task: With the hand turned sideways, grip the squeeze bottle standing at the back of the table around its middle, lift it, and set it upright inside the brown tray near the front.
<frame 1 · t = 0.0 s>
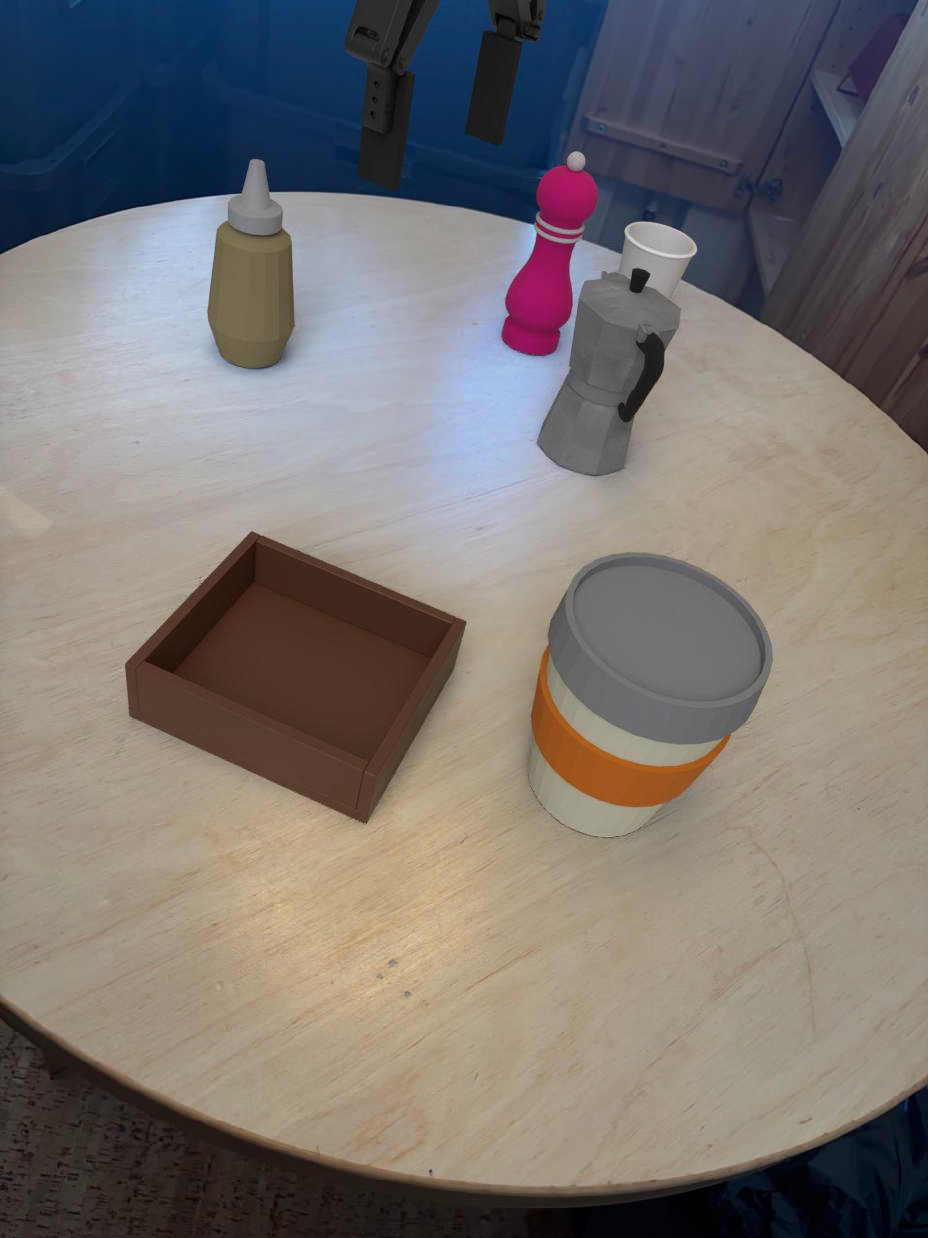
hand: (434, 159, 63), 27 cm above the table, tool pointing down, fingers open, 13 cm apart
brown tray: (301, 691, 64), on the table
dixie cup: (633, 321, 113), on the table
squeeze bottle: (249, 355, 92), on the table
reusable coffee cup: (592, 781, 63), on the table
pepper mill: (528, 342, 104), on the table
coffeepot: (584, 456, 91), on the table
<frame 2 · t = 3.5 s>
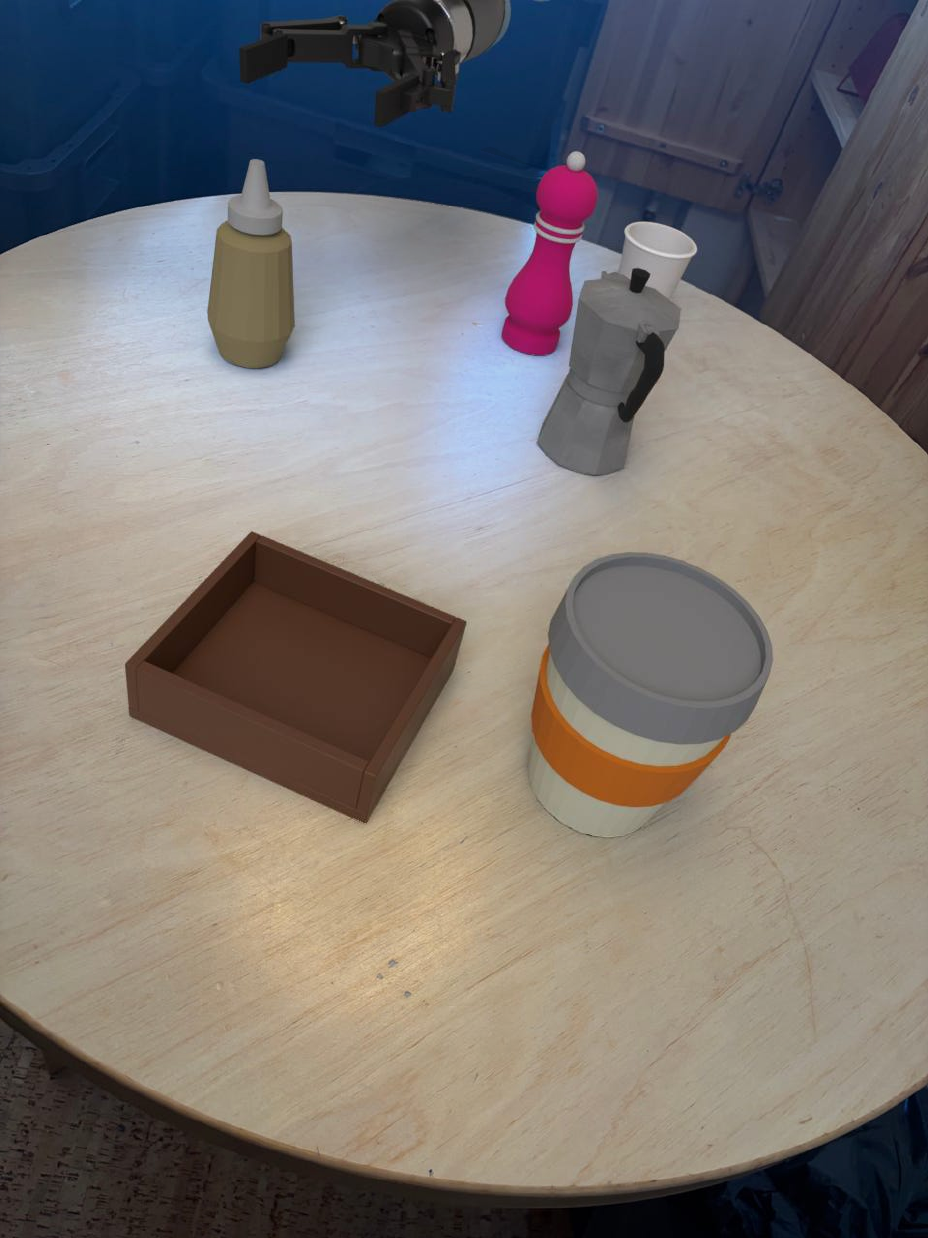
hand: (309, 87, 82), 22 cm above the table, tool horizontal, fingers open, 13 cm apart
nothing on the table moved.
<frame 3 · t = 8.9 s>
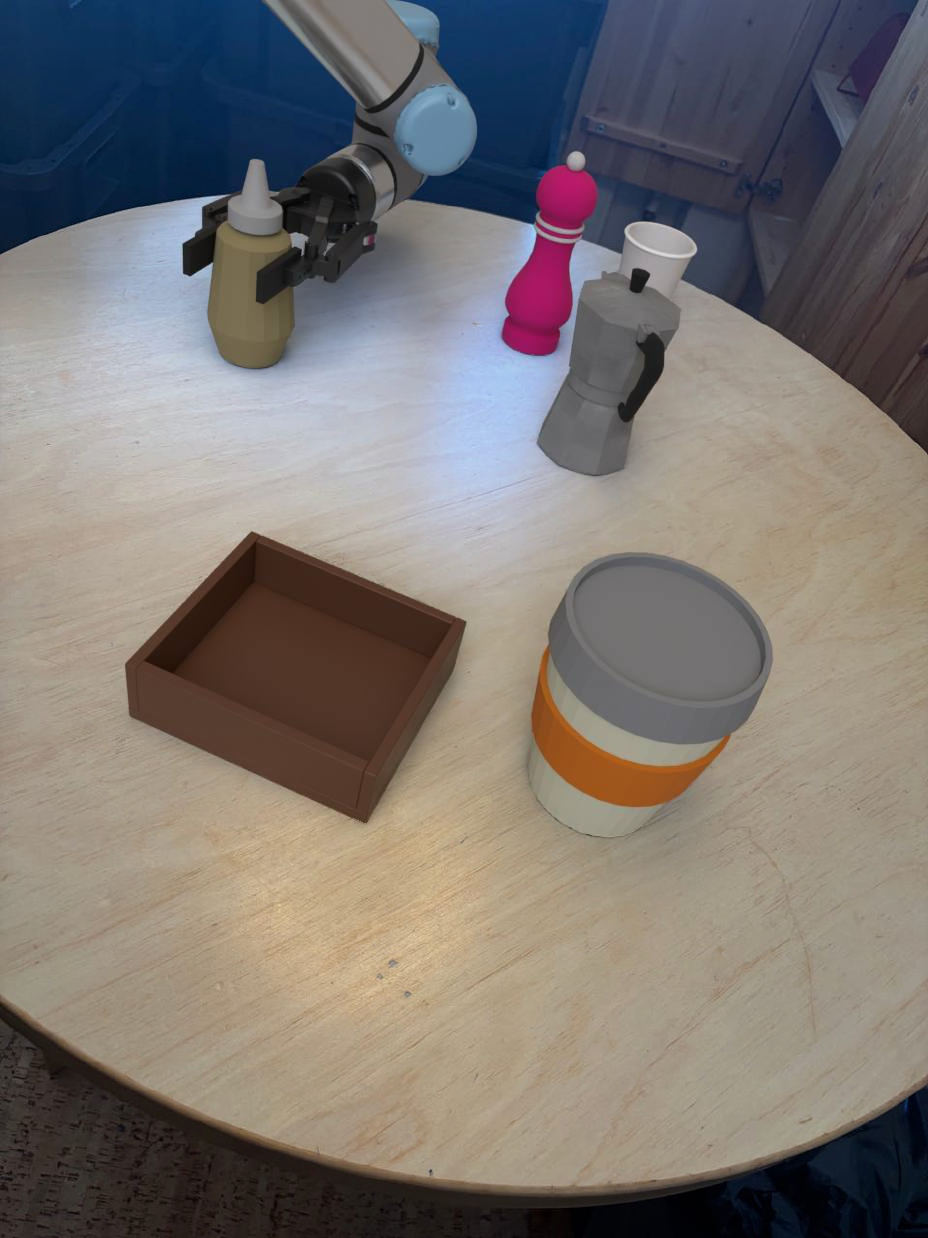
hand: (223, 273, 81), 10 cm above the table, tool horizontal, fingers closed on squeeze bottle, 6 cm apart
squeeze bottle: (249, 355, 92), on the table, touching gripper
everything else where it was.
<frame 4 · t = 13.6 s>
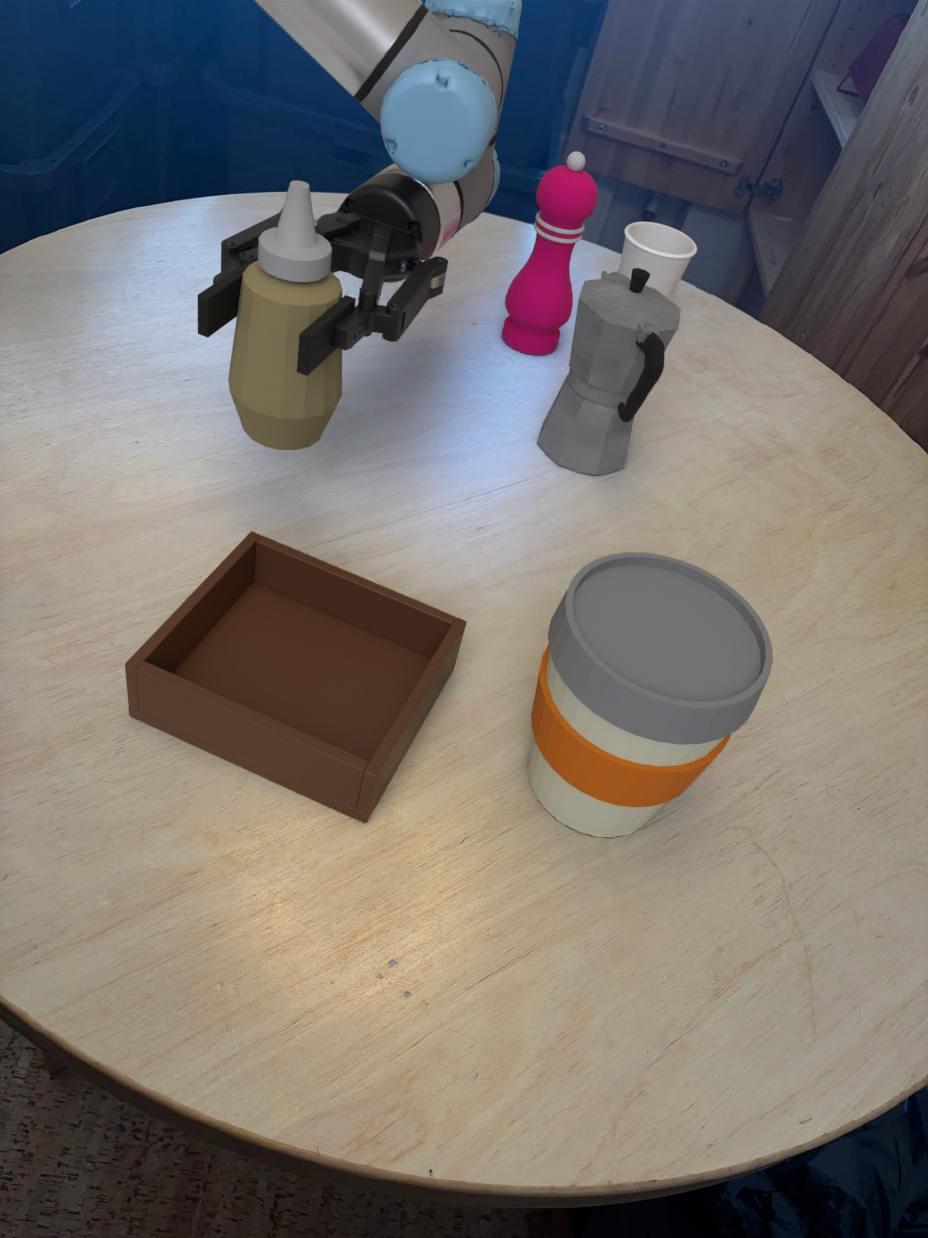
hand: (253, 335, 60), 18 cm above the table, tool horizontal, fingers closed on squeeze bottle, 6 cm apart
squeeze bottle: (282, 431, 71), point 8 cm above the table, touching gripper
everything else where it was.
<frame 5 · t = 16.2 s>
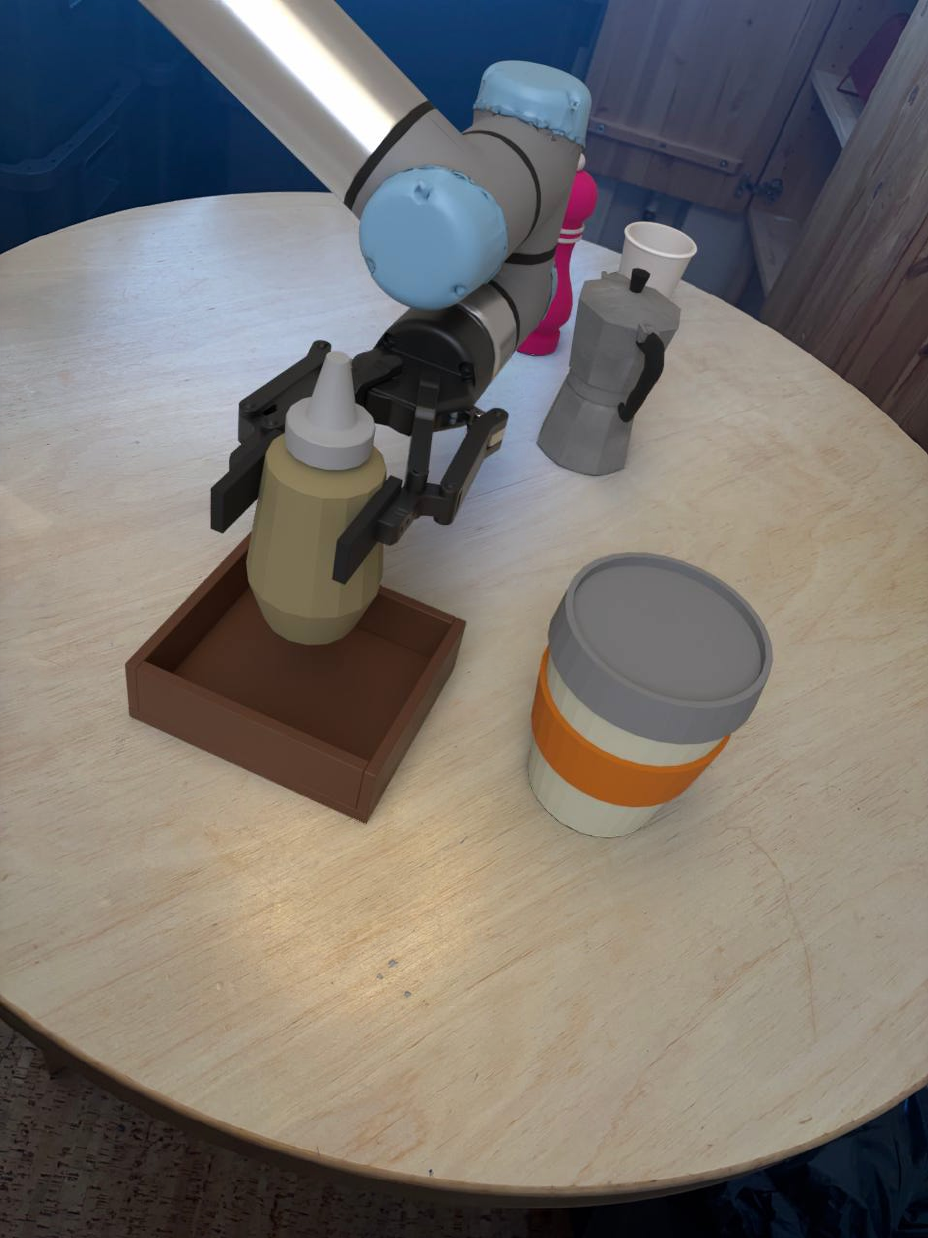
hand: (278, 536, 49), 17 cm above the table, tool horizontal, fingers closed on squeeze bottle, 6 cm apart
squeeze bottle: (310, 615, 59), point 7 cm above the table, touching gripper
everything else where it was.
when the fingers open (11 cm above the table, at t = 18.3 s): squeeze bottle stays where it is, resting on brown tray.
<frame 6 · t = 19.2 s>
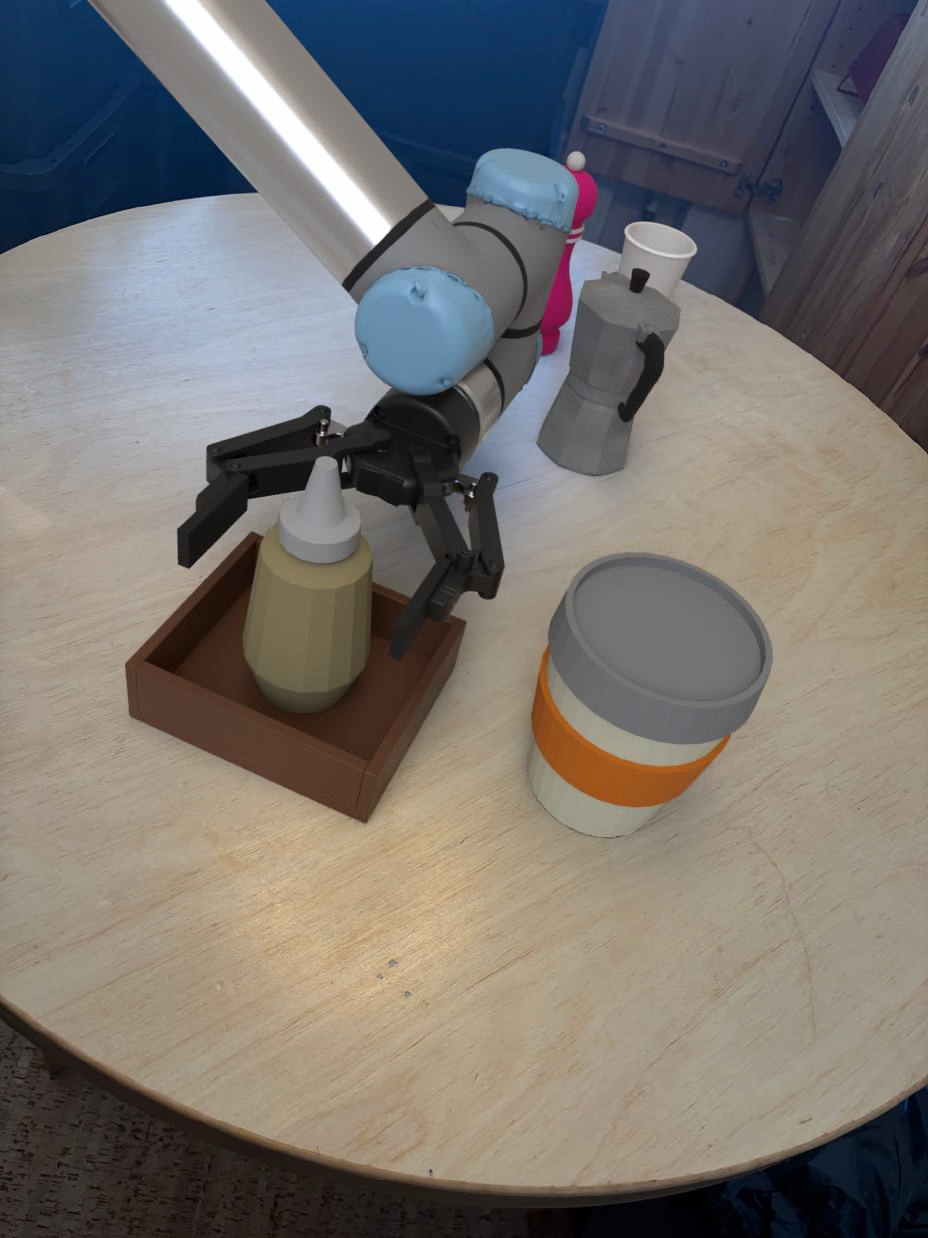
hand: (288, 595, 53), 12 cm above the table, tool horizontal, fingers open, 13 cm apart
squeeze bottle: (302, 683, 63), point 1 cm above the table, touching brown tray
everything else where it was.
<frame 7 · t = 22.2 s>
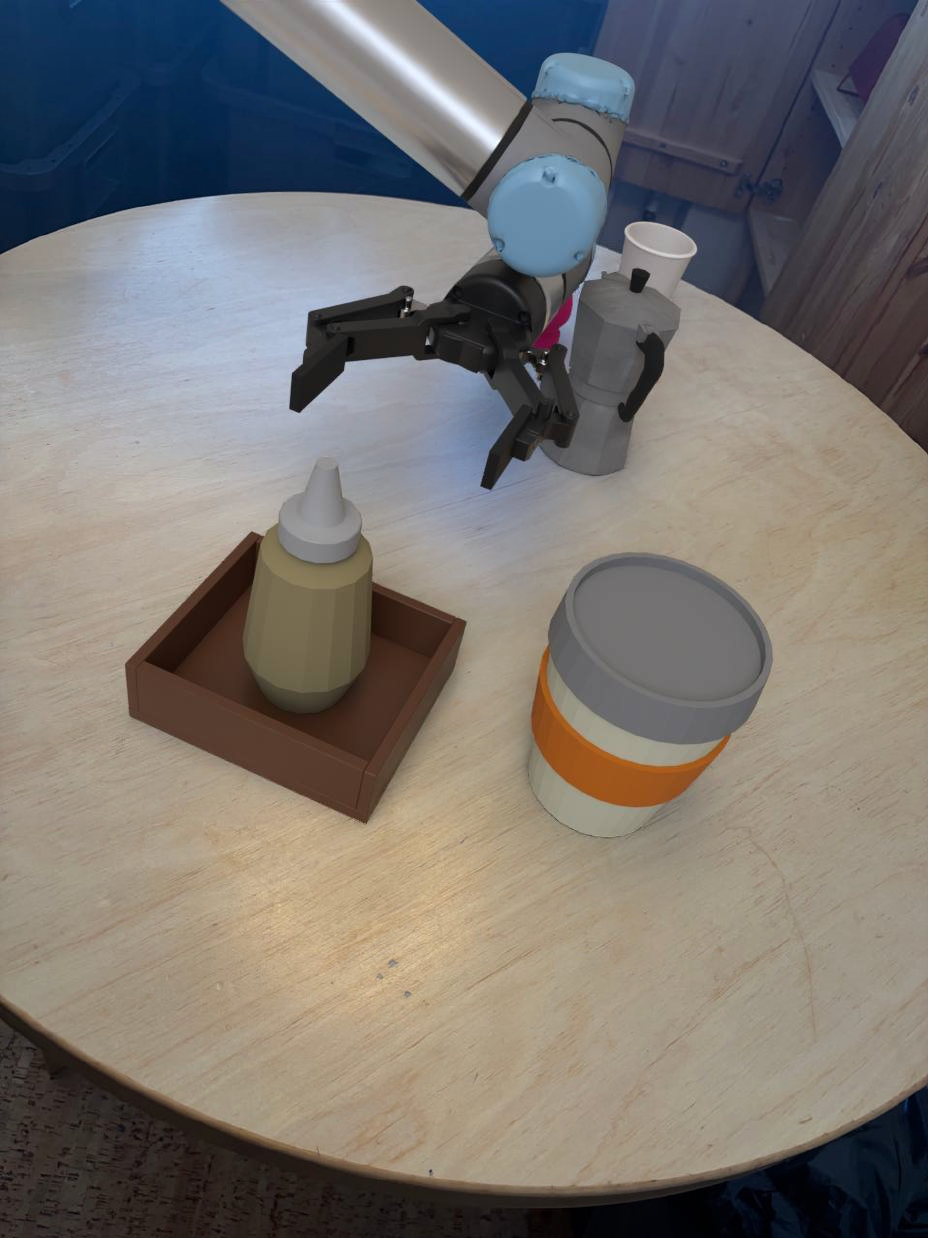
hand: (391, 432, 60), 16 cm above the table, tool horizontal, fingers open, 13 cm apart
nothing on the table moved.
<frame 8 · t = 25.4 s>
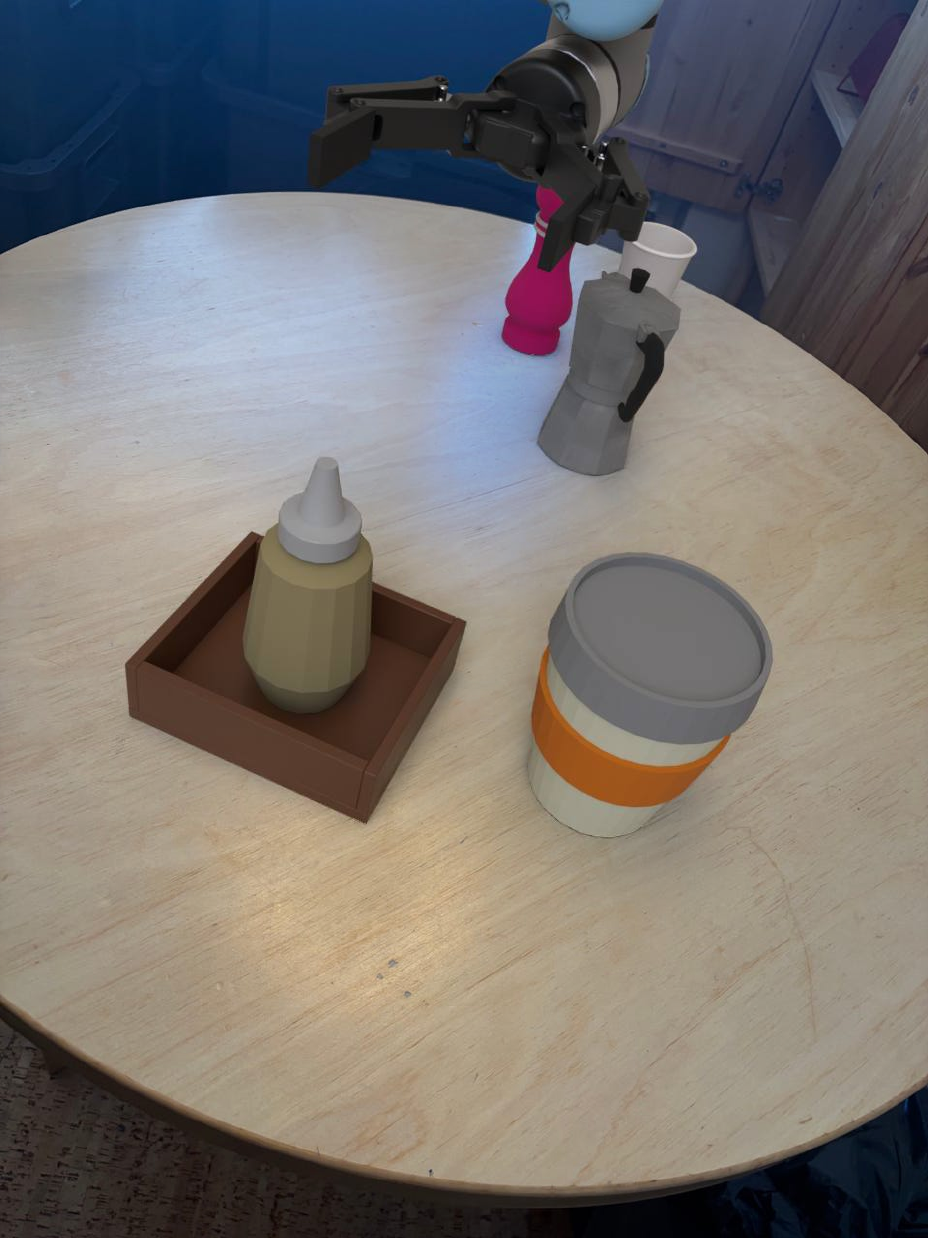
hand: (429, 202, 50), 30 cm above the table, tool horizontal, fingers open, 13 cm apart
nothing on the table moved.
at the end: squeeze bottle inside the target area in the brown tray (0.0 cm from its centre), point 0.8 cm above the brown tray's base; squeeze bottle tilted 0°; the gripper is holding nothing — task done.
